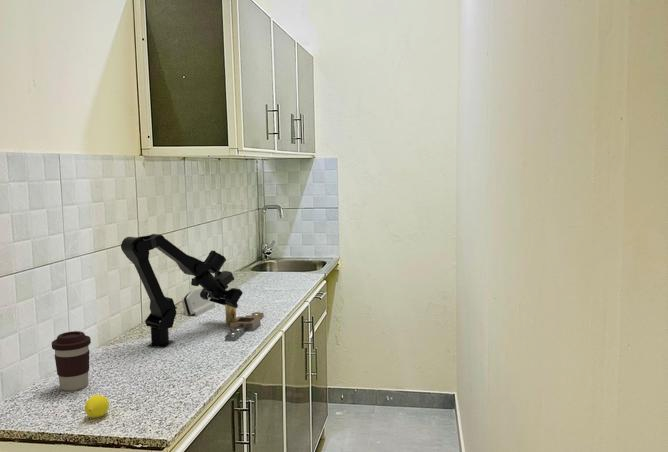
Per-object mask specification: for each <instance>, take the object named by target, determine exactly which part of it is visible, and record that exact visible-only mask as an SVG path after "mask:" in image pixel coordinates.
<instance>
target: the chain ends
mask: <svg viewBox="0 0 668 452" xmlns="http://www.w3.org/2000/svg"><path fill="white" fill-rule="evenodd" d="M264 314H265V313H264V312H261V311H258V312H257V311H256V312H255V311H254V312H252V313H251V315H250V314H249V315H248V314H247V315H245V316H236V319H235V320H233V321H232V322H231V323H230V325H229V326H230V330H229V331H228V332H227V333H226V335H225V336H224V341H225V342H226V341H229V342H235V341H237V340H238V339H240V337H241V336H243V335H244V334H245V333H246V332H255V331H256V330H257V329H258V328H259V327H260V326H261V320H262V319H263V318H264Z"/></svg>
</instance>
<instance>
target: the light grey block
mask: <svg viewBox="0 0 668 452" xmlns="http://www.w3.org/2000/svg"><path fill="white" fill-rule="evenodd" d="M202 290H203V288H198V289H194V290H191V291H189V292H187V293H185V295H184V296H183V297H182V298H181V304H182V308H183V310H184V314H185V316H186V317H188V316H189V315H195V317H198V316H201V315H203V314H204V313H206V312H208V311H210V310H212V309H214V308H215V307H216V305H215V304H216V303H215V302H211V301H210V298H209V297H208V300H204V299H202V298H201V297H200V293H201V291H202Z"/></svg>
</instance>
